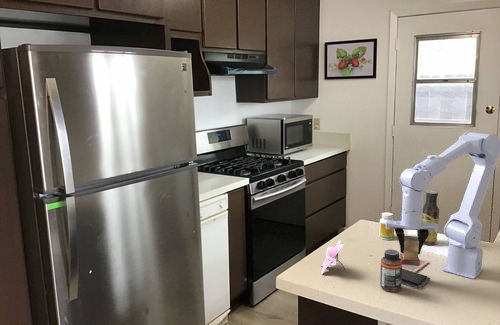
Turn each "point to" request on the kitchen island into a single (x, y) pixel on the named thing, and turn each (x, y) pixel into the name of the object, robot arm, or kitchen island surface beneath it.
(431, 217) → the tonic bottle
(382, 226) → the supplement bottle
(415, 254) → the stamp
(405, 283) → the ink pad
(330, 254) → the lily
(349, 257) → the kitchen island surface
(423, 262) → the mat
